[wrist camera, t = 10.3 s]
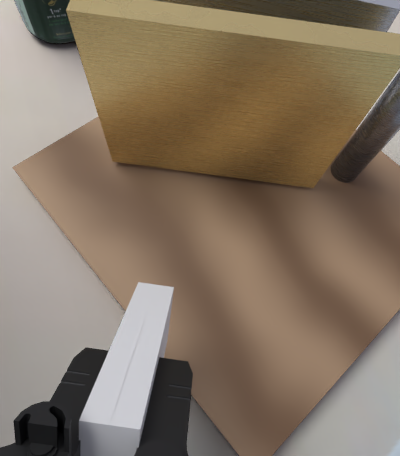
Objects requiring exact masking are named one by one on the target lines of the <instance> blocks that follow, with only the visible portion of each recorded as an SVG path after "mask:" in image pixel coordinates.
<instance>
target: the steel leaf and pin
mask: <svg viewBox="0 0 400 456" xmlns="http://www.w3.org/2000/svg"><path fill="white" fill-rule="evenodd" d="M153 1H161V2H168V3H175V4H183V5H190V6H197V7H205V8H212V9H220V10H227V11H234V12H242V13H249V14H256V15H264V16H271V17H278V18H286V19H293V20H300V21H308V22H315V23H322V24H330V25H337V26H344V27H352V28H359V29H367V30H374V31H381V32H387V31H388V29H389V28H390V26H391V24H392V23H393V21H394V19H395V18H396V16H397V14H398V13H399V11H400V0H153ZM399 130H400V71H399V73H398V74H397V76H396V77H395V78H394V80H393V81H392V82H391V84H390V85H389V87H388V88H387V89H386V91H385V92H384V93H383V95H382V96H381V98H380V99H379V100H378V102H377V103H376V104H375V106H374V107H373V109H372V110H371V111H370V113H369V114H368V115H367V117H366V118H365V120H364V121H363V122H362V124H361V125H360V127H359V128H358V129H357V131H356V132H355V133H354V135H353V136H352V138H351V139H350V140H349V142H348V143H347V144H346V146H345V147H344V149H343V150H342V151H341V153H340V154H339V155H338V157H337V158H336V160H335V161H334V162H333V164H332V165H331V173H332V175H333V176H334V178H335V179H337V180H338V181H340V182H344V183H349V182H352V181H354V180H355V179H356V178H357V177H358V175H359V174H360V173H361V172H362V171H363V170H364V169H365V168H366V166H367V165H368V164H369V163H370V162H371V161H372V160H373V159H374V158H375V156H376V155H377V154H378V153H379V152H380V151H381V150H382V149H383V148H384V146H385V145H386V144H387V143H388V142H389V141H390V140H391V139H392V138H393V136H394V135H395V134H396V133H397V132H398V131H399Z"/></svg>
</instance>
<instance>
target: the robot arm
mask: <svg viewBox="0 0 400 456" xmlns="http://www.w3.org/2000/svg"><path fill="white" fill-rule="evenodd" d="M173 291H174V287H169V286H162V285H155V284H148V283H141V282H138V284H137V287H136V289H135V291H134V293H133V296H132V298H131V300H130V303H129V305H128V307H127V310H126V312H125V314H124V317H123V319H122V321H121V324H120V326H119V328H118V331H117V333H116V335H115V338H114V340H113V342H112V345H111V347H110V349H109V351H106V350H99V349H92V348H85V349H84V350H82V351H81V352H80V353H79V354H78V355H76V356H75V357H74V358H73V360H72V362H71V364H70V366H69V367H68V369H67V372H66V373H65V375H64V377H63V378H62V380H61V383H60V384H59V386H58V387H57V389H56V391H55V393H54V395H53V397H52V398H51V400H50V402H40V403H37V404H34V405H31V406H30V407H28V408H27V409H25V410H24V411H22V412H21V413H20V414H19V415H18V416H17V417H16V419H15V420H14V430H15V441H16V443H13V444H11V445H8V446H5V447H1V448H0V456H188V453H187V444H186V442H187V432H188V421H189V411H190V400H191V389H192V379H193V372H192V370H191V367H190V365H189V362H188V361H182V360H175V359H168V358H164V354H165V349H166V345H167V340H168V332H169V324H170V315H171V307H172V299H173Z"/></svg>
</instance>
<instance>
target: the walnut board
mask: <svg viewBox="0 0 400 456" xmlns="http://www.w3.org/2000/svg"><path fill="white" fill-rule="evenodd" d="M355 132H356V130H355V131H354V132H353V134H352V135H351V136H350V138H349V139H348V141H347V142H346V143H345V145H344V146H343V148H342V149H341V150H340V152H339V153H338V155H339V154H340V153H341V151H342V150H343V149H344V147H345V146H346V144H347V143H348V142H349V140H350V139H351V138H352V136H353V135H354V133H355ZM338 155H337V156H336V157H335V159H334V160H333V162H334V161H335V160H336V158H337V157H338ZM333 162H332V163H331V164H330V166H329V167H328V168H327V170H326V171H325V173H324V174H323V175H322V177H321V178H320V180H319V181H318V182H317V184H316V185H315V187H314V188H308V187H301V186H293V185H286V184H278V183H271V182H263V181H256V180H248V179H241V178H233V177H226V176H218V175H210V174H203V173H195V172H188V171H180V170H173V169H165V168H158V167H150V166H143V165H135V164H128V163H120V162H113V161H112V158H111V155H110V152H109V149H108V145H107V142H106V139H105V136H104V132H103V129H102V126H101V122H100V119H99V117H97V118H95V119H94V120H92V121H90V122H88V123H87V124H85V125H83V126H82V127H80V128H78V129H77V130H75V131H73V132H72V133H70V134H68V135H66V136H65V137H63V138H61V139H60V140H58V141H56V142H55V143H53V144H51V145H50V146H48V147H46V148H44V149H43V150H41V151H39V152H38V153H36V154H34V155H33V156H31V157H29V158H28V159H26V160H24V161H23V162H21V163H19V164H17V165H16V166H14V167H12V168H13V169H14V170H15V172H16V173H17V174H18V175H19V177H20V178H21V179H22V180H23V182H24V183H25V184H26V186H27V187H28V188H29V189H30V191H31V192H32V193H33V194H34V196H35V197H36V198H37V200H38V201H39V202H40V203H41V205H42V206H43V207H44V208H45V210H46V211H47V212H48V213H49V215H50V216H51V217H52V219H53V220H54V221H55V222H56V224H57V225H58V226H59V227H60V229H61V230H62V231H63V233H64V234H65V235H66V236H67V238H68V239H69V240H70V241H71V243H72V244H73V245H74V247H75V248H76V249H77V250H78V252H79V253H80V254H81V255H82V257H83V258H84V259H85V260H86V262H87V263H88V264H89V266H90V267H91V268H92V269H93V271H94V272H95V273H96V274H97V276H98V277H99V278H100V280H101V281H102V282H103V283H104V285H105V286H106V287H107V288H108V290H109V291H110V292H111V293H112V295H113V296H114V297H115V299H116V300H117V301H118V302H119V304H120V305H121V306H122V307H123V309H124V310H125V311H126V310H127V307H128V305H129V303H130V300H131V298H132V296H133V293H134V291H135V289H136V287H137V284H138V282H141V283H148V284H155V285H162V286H169V287H174V291H173V299H172V307H171V315H170V324H169V332H168V340H167V345H166V349H165V354H164V358H168V359H175V360H182V361H188V362H189V365H190V367H191V370H192V372H193V379H192V389H191V395H192V396H193V398H194V399H195V400H196V401H197V403H198V404H199V405H200V407H201V408H202V409H203V410H204V412H205V413H206V414H207V415H208V417H209V418H210V419H211V420H212V422H213V423H214V424H215V426H216V427H217V428H218V429H219V431H220V432H221V433H222V434H223V436H224V437H225V438H226V440H227V441H228V442H229V443H230V445H231V446H232V447H233V448H234V450H235V451H236V452H237V454H238V455H239V456H272V455H273V454H274V453H275V451H276V450H277V449H278V448H279V447H280V446H281V445H282V443H283V442H284V441H285V440H286V439H287V438H288V437H289V435H290V434H291V433H292V432H293V431H294V430H295V428H296V427H297V426H298V425H299V424H300V423H301V422H302V420H303V419H304V418H305V417H306V416H307V415H308V414H309V412H310V411H311V410H312V409H313V408H314V407H315V406H316V404H317V403H318V402H319V401H320V400H321V399H322V398H323V396H324V395H325V394H326V393H327V392H328V391H329V390H330V388H331V387H332V386H333V385H334V384H335V383H336V382H337V380H338V379H339V378H340V377H341V376H342V375H343V373H344V372H345V371H346V370H347V369H348V368H349V367H350V365H351V364H352V363H353V362H354V361H355V360H356V359H357V357H358V356H359V355H360V354H361V353H362V352H363V351H364V349H365V348H366V347H367V346H368V345H369V344H370V343H371V341H372V340H373V339H374V338H375V337H376V336H377V335H378V333H379V332H380V331H381V330H382V329H383V328H384V327H385V325H386V324H387V323H388V322H389V321H390V320H391V318H392V317H393V316H394V315H395V314H396V313H397V312H398V310H399V309H400V166H399V165H398V164H396V163H395V162H394V161H393V160H391V159H390V158H389V157H388V156H387V155H385V154H384V153H383V152H382V151H380V152H379V153H378V154H377V155H376V156H375V158H374V159H373V160H372V161H371V162H370V163H369V164H368V165H367V166H366V168H365V169H364V170H363V171H362V172H361V173H360V174H359V175H358V177H357V178H356V179H355V180H354V181H352V182H349V183H344V182H340V181H338V180H337V179H335V178H334V176H333V175H332V173H331V165H332V164H333Z"/></svg>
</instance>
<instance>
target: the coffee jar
mask: <svg viewBox="0 0 400 456" xmlns="http://www.w3.org/2000/svg"><path fill="white" fill-rule="evenodd" d="M14 1H15V4H16V6H17V8H18V11H19V13H20V15H21V17H22V20H23V22H24V24H25V25H26V27H27V29H28V30H29V31H30V32H31V33H32V34H33V35H34V36H36V37H38V38H39V39H42V40H44V41H46V42H50V43H65V42H72V41H75V38H74V34H73V31H72V28H71V25H70V21H69V18H68V15H67V12H66V9H67V7H68V4H69V2H70V0H14Z"/></svg>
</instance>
